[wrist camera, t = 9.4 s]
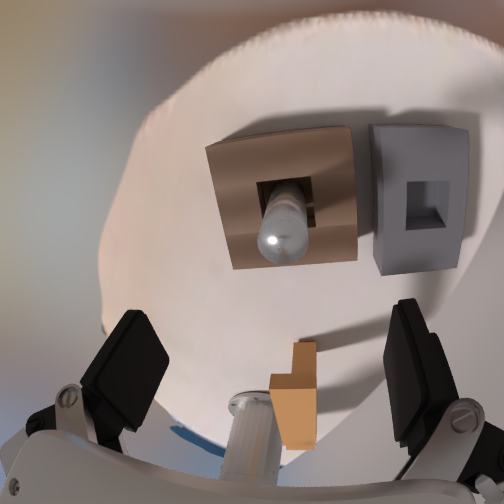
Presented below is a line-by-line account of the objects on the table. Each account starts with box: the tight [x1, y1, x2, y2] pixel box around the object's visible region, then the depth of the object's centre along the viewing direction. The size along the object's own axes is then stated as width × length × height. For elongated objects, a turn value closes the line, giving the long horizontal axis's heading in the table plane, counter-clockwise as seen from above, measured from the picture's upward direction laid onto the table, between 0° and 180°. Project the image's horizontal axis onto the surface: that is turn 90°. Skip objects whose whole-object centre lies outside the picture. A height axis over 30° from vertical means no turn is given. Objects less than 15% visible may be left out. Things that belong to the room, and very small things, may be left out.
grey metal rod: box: [257, 178, 308, 264], centre depth 22 cm, size 3×3×10 cm
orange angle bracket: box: [269, 342, 317, 450], centre depth 28 cm, size 14×4×15 cm, turn 11°
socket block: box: [205, 126, 358, 270], centre depth 25 cm, size 12×12×4 cm
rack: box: [369, 124, 469, 276], centre depth 23 cm, size 14×9×4 cm, turn 11°
